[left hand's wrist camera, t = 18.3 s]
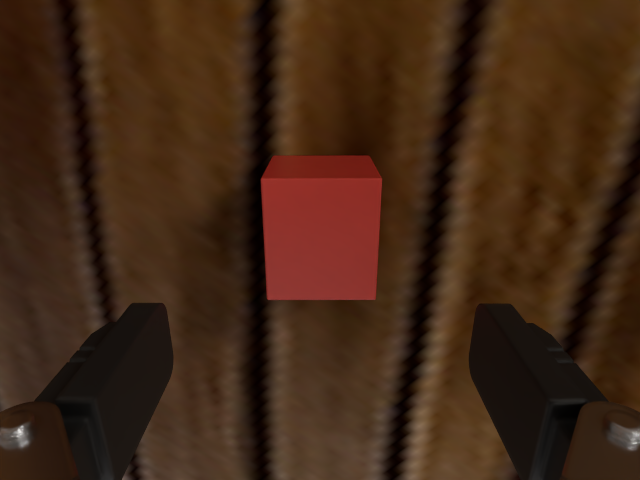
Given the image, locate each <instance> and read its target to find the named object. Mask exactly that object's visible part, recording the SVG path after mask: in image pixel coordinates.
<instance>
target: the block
mask: <svg viewBox="0 0 640 480" xmlns="http://www.w3.org/2000/svg"><path fill="white" fill-rule="evenodd" d="M381 191H382V178H381V176H380V174H379V173H378V171H377V169H376V167H375V165H374V163H373V162H372V160H371V158H370V156H273V157H272V158H271V160H270V162H269V164H268V166H267V168H266V170H265V172H264V174H263V176H262V178H261V194H262V213H263V232H264V251H265V271H266V290H267V300H375V299H376V286H377V267H378V248H379V229H380V210H381Z"/></svg>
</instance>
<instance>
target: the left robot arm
mask: <svg viewBox="0 0 640 480" xmlns="http://www.w3.org/2000/svg"><path fill="white" fill-rule="evenodd" d="M469 368H470V374H471V377H472V380H473V382H474V384H475V386H476V388H477V390H478V392H479V394H480V396H481V398H482V401H483V403H484V405H485V407H486V409H487V411H488V413H489V415H490V417H491V419H492V421H493V423H494V425H495V427H496V429H497V431H498V433H499V436H500V438H501V440H502V442H503V444H504V446H505V448H506V450H507V452H508V454H509V456H510V458H511V460H512V462H513V464H514V466H515V469H516V471H517V473H518V475H519V477H520V479H521V480H640V412H638V411H636V410H634V409H632V408H629V407H627V406H624V405H621V404H617V403H613V402H609V401H608V400H607V399H606V398H605V397H604V395H603V394H602V393H601V392H600V391H599V390H598V389H597V387H596V386H595V385H594V384H593V383H592V382H591V380H590V379H589V378H588V377H587V376H586V375H585V373H584V372H583V371H582V370H581V369H580V368H579V366H578V365H577V364H576V363H573V359H572V358H571V357H570V356H569V355H568V354H567V352H564V351H563V348H562V347H561V345H560V344H559V343H558V342H557V341H556V340H555V339H554V337H553V336H552V335H551V334H549V333H548V332H546V331H544V330H543V329H541V328H540V327H538V326H537V325H535V324H534V323H526V322H525V321H524V319H523V318H522V317H521V316H520V314H519V313H518V312H517V311H516V309H515V308H514V307H513V306H512V305H511V304H479V305H478V306H477V308H476V312H475V319H474V325H473V332H472V338H471V345H470V352H469ZM172 369H173V349H172V342H171V336H170V329H169V322H168V316H167V310H166V307H165V305H164V304H163V303H132V304H131V305H130V306H129V307H128V308H127V309H126V311H125V312H124V313H123V314H122V316H121V317H120V318H119V319H118V321H117V322H109V323H108V324H106V325H105V326H103V327H102V328H100V329H99V330H97V331H95V332H94V333H92V334H91V335H90V336H89V337H88V339H87V340H86V341H85V342H84V343H83V344H82V346H81V347H80V350H79V351H77V352H76V353H75V354H74V355H73V356H72V357H71V359H70V362H67V363H66V364H65V366H64V367H63V368H62V369H61V370H60V371H59V373H58V374H57V375H56V376H55V377H54V379H53V380H52V381H51V382H50V383H49V384H48V386H47V387H46V388H45V389H44V390H43V391H42V393H41V394H40V395H39V396H38V397H37V398H36V400H35V401H34V402H27V403H23V404H19V405H16V406H13V407H11V408H8V409H6V410H4V411H2V412H0V480H122V478H123V476H124V473H125V471H126V469H127V467H128V465H129V463H130V461H131V459H132V457H133V455H134V453H135V451H136V448H137V446H138V444H139V442H140V440H141V438H142V436H143V434H144V432H145V430H146V428H147V425H148V423H149V421H150V419H151V417H152V415H153V413H154V411H155V409H156V407H157V405H158V403H159V400H160V398H161V396H162V394H163V392H164V390H165V388H166V386H167V384H168V382H169V380H170V377H171V374H172Z"/></svg>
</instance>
